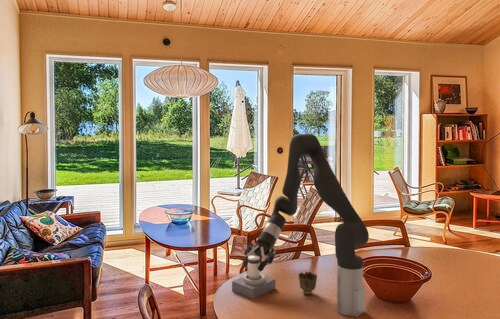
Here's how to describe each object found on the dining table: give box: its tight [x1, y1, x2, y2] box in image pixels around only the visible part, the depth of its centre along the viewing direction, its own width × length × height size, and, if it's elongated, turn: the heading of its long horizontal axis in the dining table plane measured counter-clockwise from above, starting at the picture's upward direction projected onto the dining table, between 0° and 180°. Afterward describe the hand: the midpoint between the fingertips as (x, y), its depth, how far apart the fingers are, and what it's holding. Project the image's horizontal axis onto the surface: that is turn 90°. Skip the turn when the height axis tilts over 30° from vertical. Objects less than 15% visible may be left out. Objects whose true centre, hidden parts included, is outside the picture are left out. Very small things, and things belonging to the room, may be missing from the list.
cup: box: [298, 271, 318, 296], centre depth 155 cm, size 8×7×8 cm
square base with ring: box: [231, 273, 276, 300], centre depth 159 cm, size 12×14×6 cm
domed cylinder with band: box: [247, 254, 261, 280], centre depth 159 cm, size 5×5×10 cm
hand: (251, 268), depth 158 cm, fingers open, 8 cm apart
